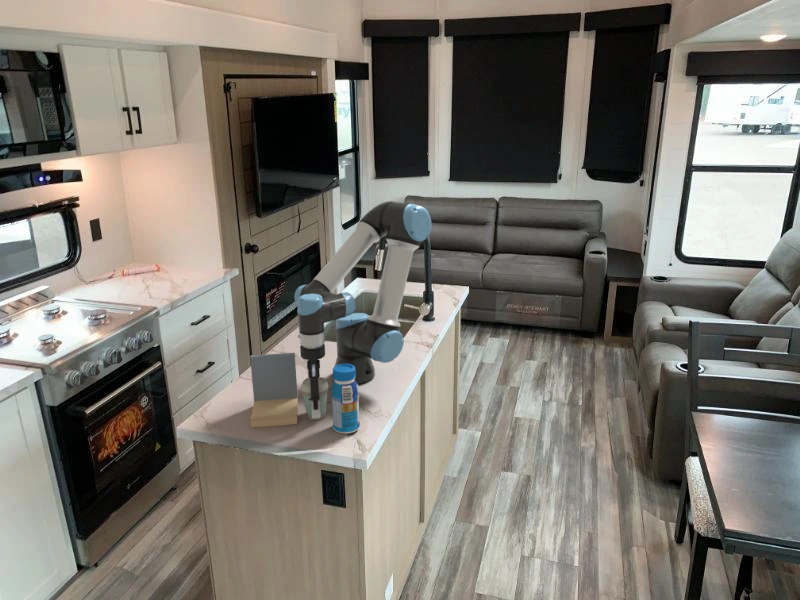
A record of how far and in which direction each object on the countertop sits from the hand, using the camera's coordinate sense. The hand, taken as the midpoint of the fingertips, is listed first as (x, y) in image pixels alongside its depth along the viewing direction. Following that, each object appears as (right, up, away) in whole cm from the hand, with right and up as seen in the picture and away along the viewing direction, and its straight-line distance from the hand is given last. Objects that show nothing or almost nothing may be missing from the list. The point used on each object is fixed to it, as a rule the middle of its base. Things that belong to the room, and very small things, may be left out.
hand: (316, 411), depth 187 cm
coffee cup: (0, -2, +1) cm, 2 cm away
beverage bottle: (+10, -4, -7) cm, 13 cm away
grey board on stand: (-13, -1, +1) cm, 13 cm away
